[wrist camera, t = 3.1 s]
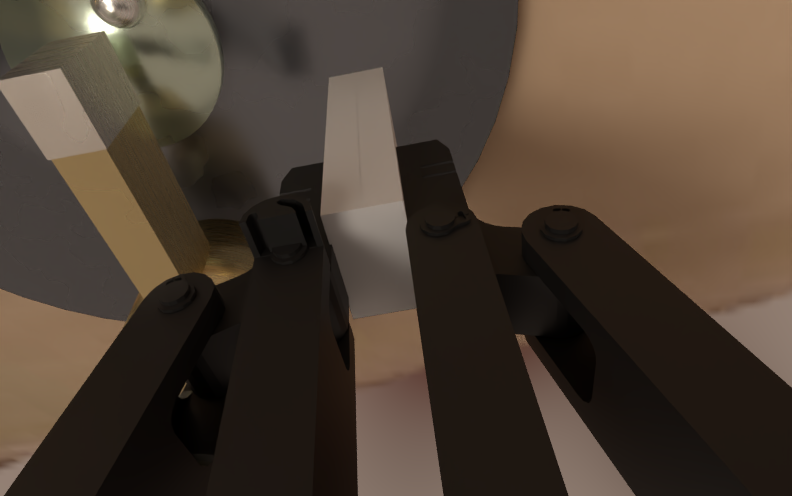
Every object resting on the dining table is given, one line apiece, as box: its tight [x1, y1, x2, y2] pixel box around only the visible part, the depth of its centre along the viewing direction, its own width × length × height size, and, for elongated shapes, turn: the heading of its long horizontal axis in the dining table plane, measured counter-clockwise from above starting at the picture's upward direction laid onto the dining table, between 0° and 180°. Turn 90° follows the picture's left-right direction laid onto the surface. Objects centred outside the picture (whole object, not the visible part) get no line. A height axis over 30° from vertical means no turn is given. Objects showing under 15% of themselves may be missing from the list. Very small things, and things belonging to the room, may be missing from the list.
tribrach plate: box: [0, 0, 518, 321], centre depth 16 cm, size 24×24×2 cm
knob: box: [0, 31, 254, 395], centre depth 17 cm, size 13×6×4 cm, turn 10°
